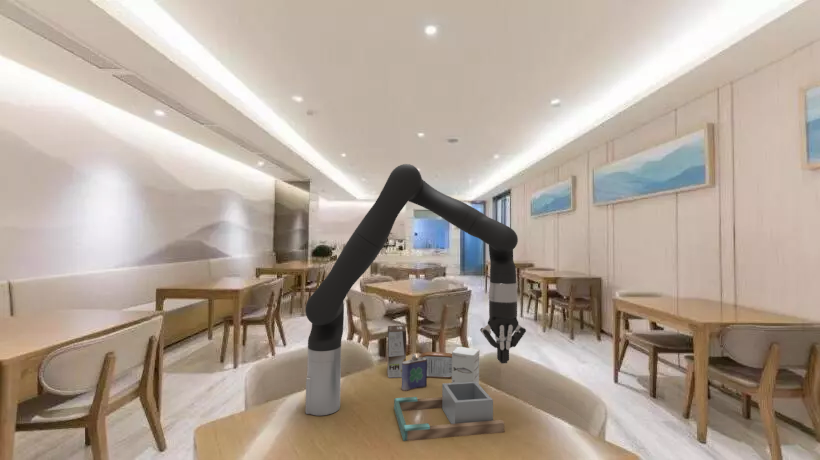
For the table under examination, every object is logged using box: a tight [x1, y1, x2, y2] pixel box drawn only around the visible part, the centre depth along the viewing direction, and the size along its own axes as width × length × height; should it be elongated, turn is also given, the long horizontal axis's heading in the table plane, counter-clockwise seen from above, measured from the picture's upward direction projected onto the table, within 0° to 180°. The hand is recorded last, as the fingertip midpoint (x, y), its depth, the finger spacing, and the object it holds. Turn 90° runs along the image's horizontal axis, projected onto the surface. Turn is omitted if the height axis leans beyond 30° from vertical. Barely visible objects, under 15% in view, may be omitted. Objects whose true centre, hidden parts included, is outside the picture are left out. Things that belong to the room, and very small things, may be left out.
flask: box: [401, 353, 428, 392], centre depth 115 cm, size 9×3×11 cm, turn 121°
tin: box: [417, 351, 452, 379], centre depth 124 cm, size 15×3×8 cm, turn 84°
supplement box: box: [451, 346, 480, 385], centre depth 114 cm, size 7×7×13 cm
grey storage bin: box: [441, 382, 494, 424], centre depth 95 cm, size 10×12×7 cm
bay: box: [393, 396, 505, 442], centre depth 94 cm, size 25×17×3 cm, turn 100°
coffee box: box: [386, 324, 407, 379], centre depth 128 cm, size 9×6×16 cm
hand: (503, 362), depth 97 cm, fingers closed
